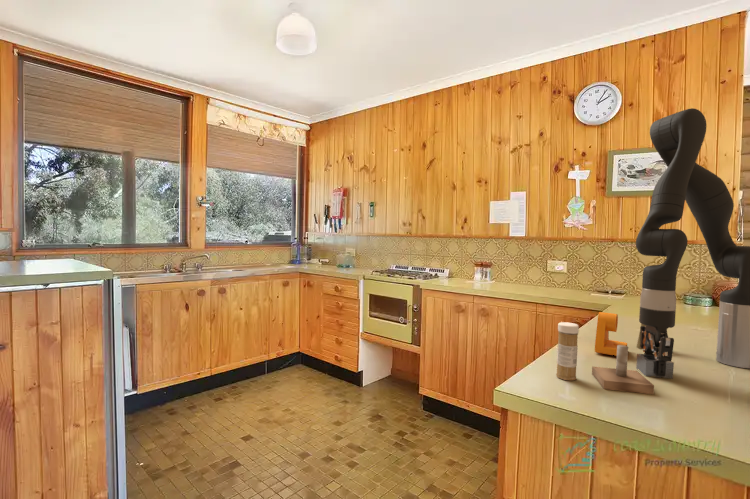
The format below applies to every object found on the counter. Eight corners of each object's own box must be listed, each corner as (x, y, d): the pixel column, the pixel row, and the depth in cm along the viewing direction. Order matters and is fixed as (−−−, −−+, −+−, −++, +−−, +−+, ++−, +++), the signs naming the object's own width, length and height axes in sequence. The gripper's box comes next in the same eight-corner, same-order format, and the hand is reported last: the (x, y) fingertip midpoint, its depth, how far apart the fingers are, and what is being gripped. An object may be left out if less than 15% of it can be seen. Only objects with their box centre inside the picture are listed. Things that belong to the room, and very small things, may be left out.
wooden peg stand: (636, 378, 99) (638, 342, 98) (653, 394, 89) (655, 354, 89) (591, 374, 101) (593, 339, 101) (603, 388, 92) (605, 350, 91)
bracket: (622, 359, 114) (625, 318, 114) (594, 354, 119) (596, 314, 118) (627, 351, 123) (629, 312, 122) (600, 346, 127) (602, 309, 127)
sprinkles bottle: (564, 373, 101) (566, 321, 101) (580, 379, 97) (583, 325, 96) (551, 376, 99) (554, 322, 99) (567, 382, 95) (570, 326, 94)
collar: (662, 370, 105) (662, 355, 105) (672, 378, 99) (673, 362, 99) (636, 368, 107) (637, 353, 106) (645, 375, 101) (646, 360, 101)
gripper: (688, 313, 94) (684, 383, 95) (661, 303, 108) (658, 364, 109) (652, 310, 96) (648, 379, 97) (630, 301, 110) (627, 361, 111)
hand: (654, 371), depth 103 cm, fingers closed on collar, 6 cm apart
